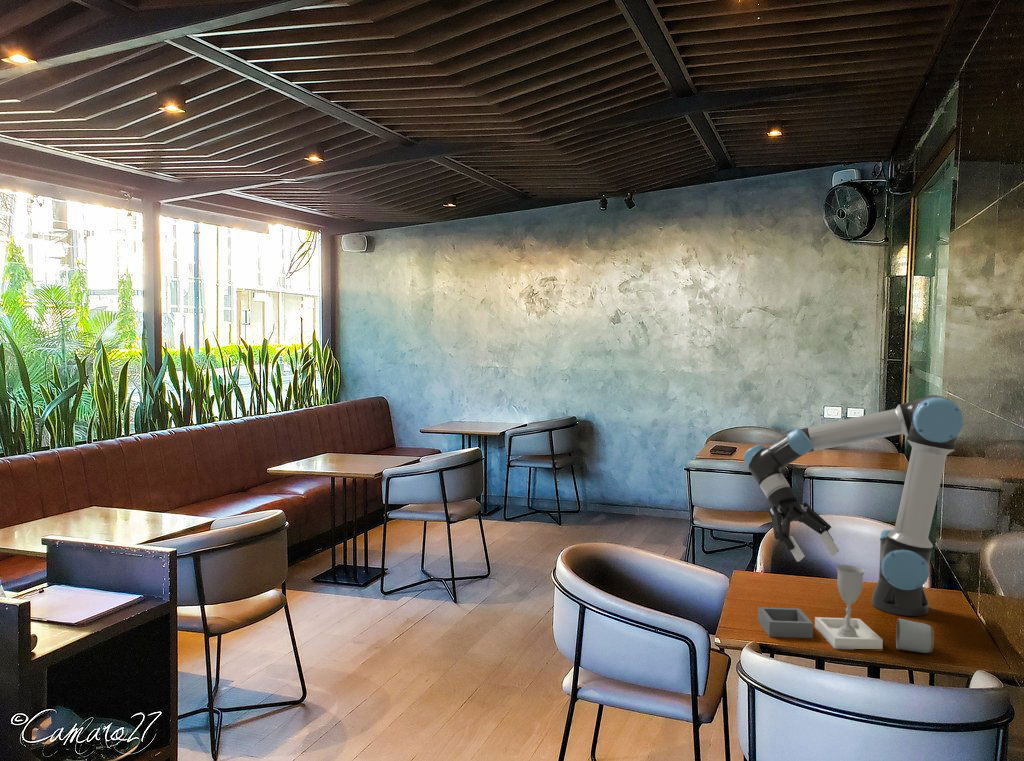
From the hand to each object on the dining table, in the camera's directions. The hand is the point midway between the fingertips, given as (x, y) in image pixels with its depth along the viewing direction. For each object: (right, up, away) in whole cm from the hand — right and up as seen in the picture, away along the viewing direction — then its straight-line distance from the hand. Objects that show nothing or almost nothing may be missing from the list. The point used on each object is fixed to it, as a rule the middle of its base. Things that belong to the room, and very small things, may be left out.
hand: (818, 556), depth 211 cm
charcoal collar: (-10, -20, -2) cm, 22 cm away
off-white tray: (+4, -20, -8) cm, 22 cm away
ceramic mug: (+18, -21, -14) cm, 31 cm away
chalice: (+4, -19, -8) cm, 21 cm away
